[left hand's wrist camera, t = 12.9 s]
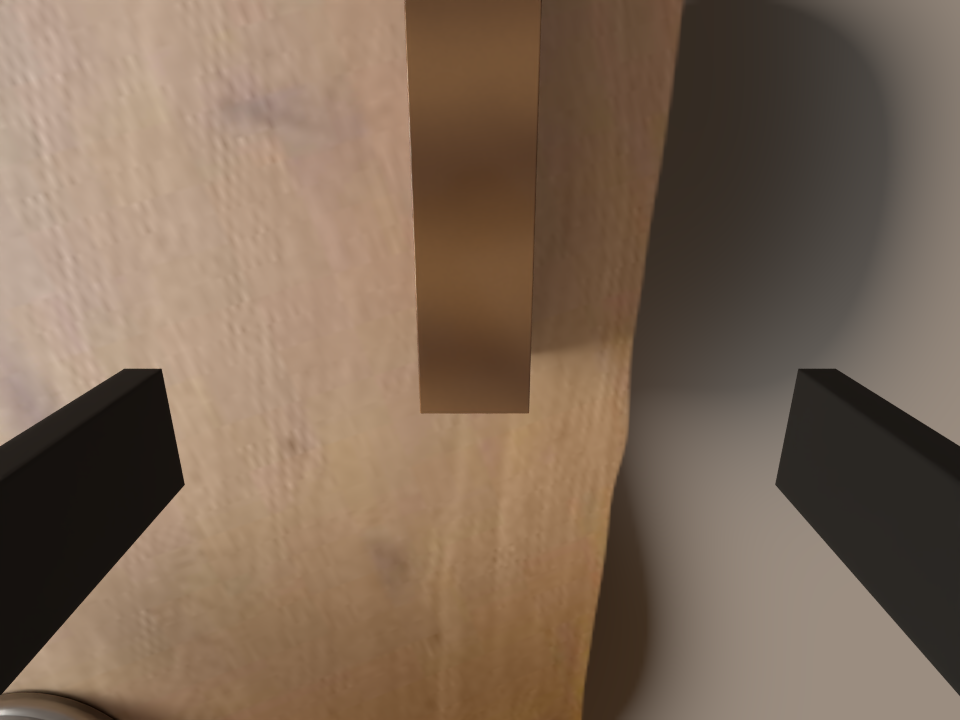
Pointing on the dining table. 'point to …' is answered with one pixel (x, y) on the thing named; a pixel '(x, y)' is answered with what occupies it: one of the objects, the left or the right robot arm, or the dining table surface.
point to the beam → (473, 198)
